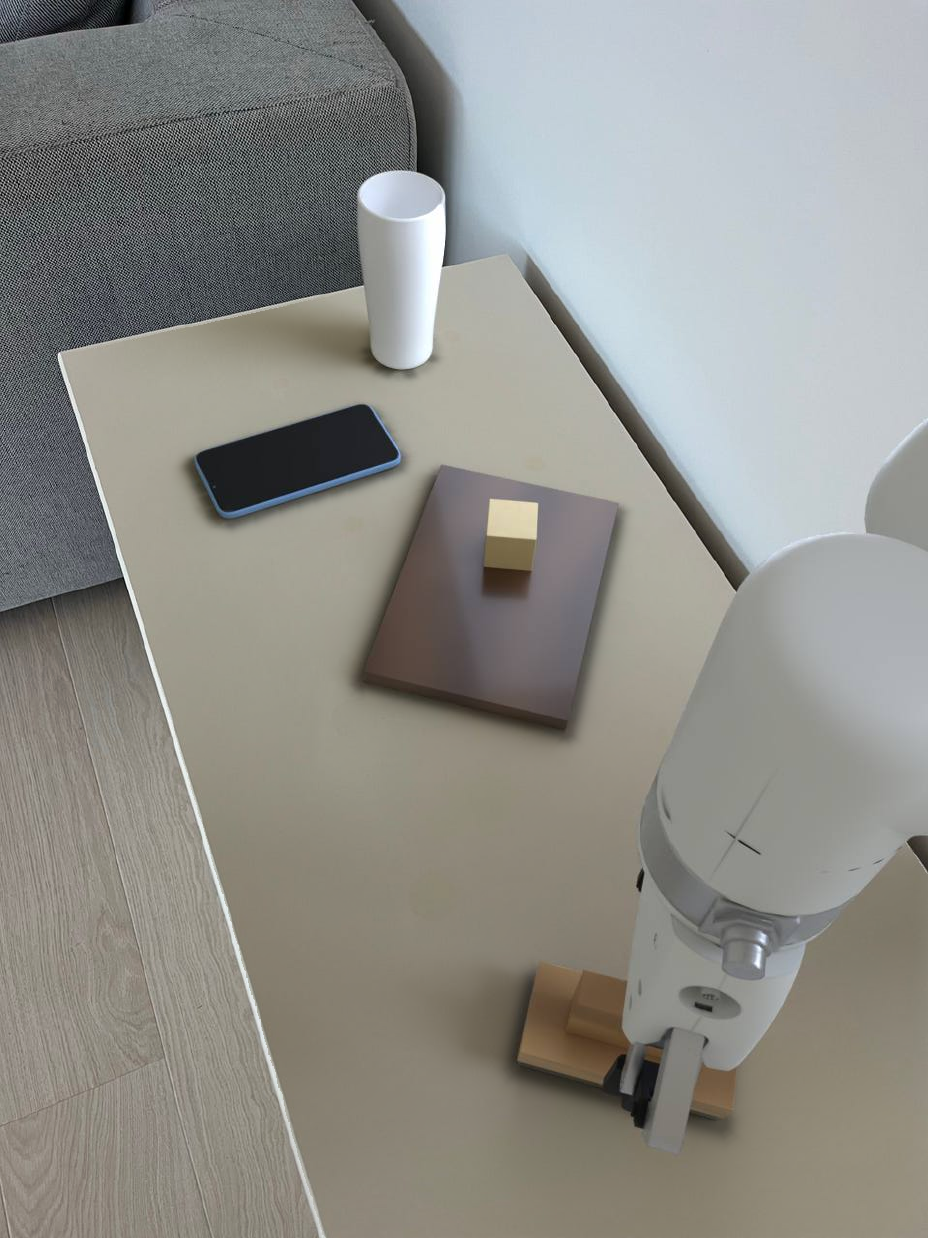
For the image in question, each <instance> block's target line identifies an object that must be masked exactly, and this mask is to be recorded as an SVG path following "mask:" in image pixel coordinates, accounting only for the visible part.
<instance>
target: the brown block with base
mask: <svg viewBox="0 0 928 1238" xmlns="http://www.w3.org/2000/svg"><path fill="white" fill-rule="evenodd" d="M627 981H628V980H626V979H622V978H618V977H614V976H611V975H607V974H602V973H600V972H596V971H592V970H588V969H583V970H582V971H579V970H575V969H572V968H569V967H565V966H561V965H557V964H553V963H549V962H546V961H542V960H539V961H538V966H537V967H536V971H535V976H534V981H533V985H532V989H531V994H530V999H529V1003H528V1007H527V1013H526V1017H525V1022H524V1027H523V1031H522V1035H521V1040H520V1045H519V1049H518V1054H517V1058H516V1060H517V1065H518V1066H521V1067H524V1068H527V1069H531V1070H534V1071H538V1072H542V1073H545V1074H548V1075H553V1076H556V1077H559V1078H564V1079H567V1080H570V1081H572V1082H577V1083H581V1084H584V1085H589V1086H591V1087H595V1088H599V1089H602V1086H603V1080H604V1077H605V1075H606V1074H607V1072H608V1071H609V1069H610V1068H611V1066H612V1065H613V1063H614V1062H615V1060H616V1059H617V1057H618V1056H620V1055H621V1054H626V1055H627V1052H628V1049H629V1045H630V1041H629V1040H628V1039H627V1037H626V1036H625V1034H624V1032H623V1029H622V1019H623V1010H624V1002H625V996H626V989H627ZM662 1053H663V1050H662V1049H659V1048H655V1047H652V1046H648V1047H647V1050H646V1054H645V1057H644V1059H645V1060H648V1061H652V1062H655V1063H659V1064H660V1062H661V1058H662ZM737 1073H738V1066H736V1067H735V1068H734V1069H732V1070H730V1071H724V1070H718V1069H712V1068H708V1067H706V1066H705V1064H704V1063H703V1062H702V1065H701V1068H700V1071H699V1075H698V1078H697V1081H696V1085H695V1088H694V1092H693V1097H692V1102H691V1107H690V1111H689V1114H692V1115H696V1116H698V1117H702V1118H706V1119H710V1120H714V1121H718V1120H720V1119H726V1118H727V1117H728V1116H729V1115H730V1114H731V1113H733V1112H734V1105H735V1104H734V1103H735V1093H736V1086H737V1085H736V1084H737Z"/></svg>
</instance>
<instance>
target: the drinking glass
mask: <svg viewBox="0 0 928 1238" xmlns="http://www.w3.org/2000/svg"><path fill="white" fill-rule="evenodd" d="M356 230H357V231H356V232H357V245H358V253H359V262H360V266H361V269H360V270H361V274H362V275H361V276H362V282H363V290H364V296H365V303H366V311H367V318H368V320H367V321H368V327H369V344H370V350H371V353H372V356H373V357H374V358H375V360H377V362H378V363H380V364H381V365H383V366H384V367H387V368H390V369H394V370H410V369H414V368H417V367H419V366H420V367H421V365H423V364H425V363H426V362H427V361H428V359H430V358H431V355H432V353H433V349H434V332H435V331H434V330H435V322H436V315H437V306H438V298H439V292H440V283H441V275H442V269H443V261H444V253H445V244H446V243H445V241H446V194H445V190H444V188H443V187H442V185H440V183H439V182H438V181H436V180H435V179H434V178H432V177H429V176H428V175H426V174H424V173H421V172H416V171H411V170H402V169H401V170H399V169H398V170H388V171H382V172H379V173H376V174H374V175H372V176H370V177H368V178H366V179H365V181H363V182H362V183H361V185H360V186H359V188H358V189H357V194H356Z"/></svg>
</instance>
